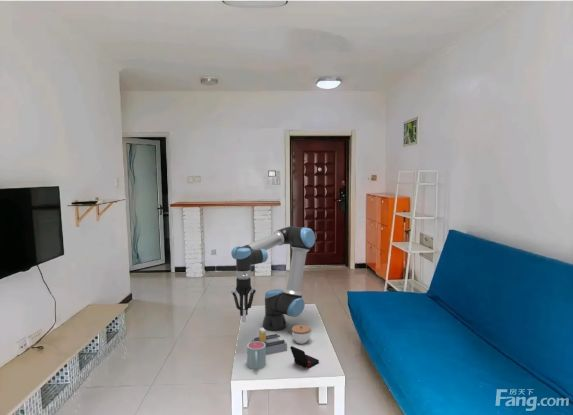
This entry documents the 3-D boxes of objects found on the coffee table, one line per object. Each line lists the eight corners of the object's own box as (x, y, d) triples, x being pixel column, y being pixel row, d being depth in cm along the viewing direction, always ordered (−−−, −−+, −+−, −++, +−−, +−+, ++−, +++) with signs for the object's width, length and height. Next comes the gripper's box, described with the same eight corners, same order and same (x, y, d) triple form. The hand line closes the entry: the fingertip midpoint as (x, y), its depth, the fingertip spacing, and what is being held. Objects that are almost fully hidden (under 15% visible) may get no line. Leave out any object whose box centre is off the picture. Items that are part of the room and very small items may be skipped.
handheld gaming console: (319, 363, 186) (319, 343, 186) (303, 372, 178) (303, 351, 177) (305, 357, 193) (305, 338, 192) (289, 365, 184) (289, 345, 184)
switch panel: (278, 341, 211) (278, 333, 211) (286, 350, 200) (286, 341, 200) (252, 346, 205) (251, 338, 205) (259, 356, 194) (258, 347, 194)
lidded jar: (314, 340, 213) (314, 324, 212) (304, 347, 204) (304, 330, 203) (298, 336, 219) (298, 320, 218) (288, 342, 210) (288, 326, 209)
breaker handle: (264, 339, 204) (263, 327, 203) (267, 343, 199) (267, 330, 199) (257, 340, 202) (257, 328, 202) (260, 344, 198) (260, 331, 197)
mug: (247, 360, 189) (247, 341, 189) (265, 359, 190) (265, 341, 189) (246, 374, 176) (246, 354, 175) (266, 373, 176) (265, 353, 176)
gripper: (233, 280, 188) (233, 325, 190) (257, 278, 193) (257, 322, 195) (229, 277, 195) (230, 320, 196) (253, 274, 200) (253, 317, 202)
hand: (243, 321), depth 196 cm, fingers closed
